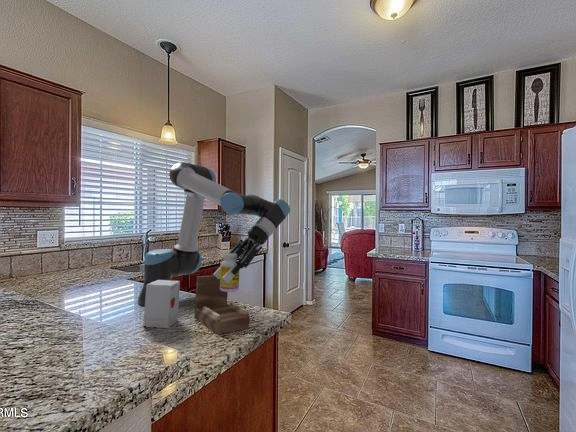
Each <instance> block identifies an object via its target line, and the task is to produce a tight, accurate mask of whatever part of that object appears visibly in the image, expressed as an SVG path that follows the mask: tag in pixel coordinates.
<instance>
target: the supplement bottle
mask: <svg viewBox="0 0 576 432" xmlns="http://www.w3.org/2000/svg"><path fill="white" fill-rule="evenodd" d="M237 259H238V258H237V254H234V253H229V252H228V253H224V254H223V260H222V261H221V262H220V266H221V271H220V290H221V291H224V292H228V293H234V292H237V291H239V289H240V288H239V286H240V270H239V271H238V272H237V273H236V275H235V276H234V277H233V278H232V279H231V281H230V282H229V283H227V282H226V281H225V280H224V279H223V276H224V275H225V274H226V273H227V272H228V271H229V269H230V268H231V267H232V266H233V265H234V264H236V261H237Z"/></svg>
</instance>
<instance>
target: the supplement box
mask: <svg viewBox="0 0 576 432" xmlns="http://www.w3.org/2000/svg"><path fill="white" fill-rule="evenodd" d="M180 284H181V281H180V280H172V281H170V280H157V281H154V282H151V283H149V284H147V285H146V297H145V306H144V312H143V326H146V327H145V328H154V327H156V328H155V329H169V328H170V327H172V325H174V324H175V323H176V322H177V321H178V318H179V317H178V316H179V305H180V304H179V303H180V291H181V290H180V286H181V285H180ZM143 326H142V327H143Z"/></svg>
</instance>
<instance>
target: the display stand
mask: <svg viewBox="0 0 576 432" xmlns="http://www.w3.org/2000/svg"><path fill="white" fill-rule="evenodd" d="M195 285H196V288H195V301H194V302H195V303H194V316H193V318H194V319H196V320H198V322H200V323H201V324H202V325H204V326H205V327H206V328H208V329H209V330H210V331H211V332H212V333H215V334H216V335H219V334H223V333H227V332H232V331H233V332H234V331H237V330H241V329H247V328H250V320H251V318H250V315H249V310H248V309H247V308H246V309H245V308H244V307H242V306H241V305H238V304H236V303H235V302H229V304H228V293H229V292H224V291H221V290H220V279H218V278H217V277H216V276H215V275H214V274H212V275H201V276H200V275H199V276H198V275H197V276H196V284H195Z"/></svg>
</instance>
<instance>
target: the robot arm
mask: <svg viewBox="0 0 576 432" xmlns="http://www.w3.org/2000/svg"><path fill="white" fill-rule="evenodd" d="M168 176H169V179H170V182H171V183H172V184H173V185H174V186H176V187H177V188H179V189H182V190H183V192H184V194H185V203H184V207H183V214H182V219H181V225H180V230H179V234H178V235H179V236H178V241H177V243H176V244H175V245H174V246H173V249H171V248H160V249H159V248H158V249H153V250H150V251H148V252H147V253H145V257H144V258H145V259H144V263H143V264H144V267H143V268H144V269H143V270H144V271H143V283H142V287H141V289H140V292H139V294H138V296H137V297H138V298H137V304H138V305H140V306H142V307H143V306H144V307H145V297H146V285H147V284H149V283H151V282H154V281H157V280H170V281H173V280H172V279H173V277H177V276H178V277H179V276H185V275H186V276H188V275H191V274H194V273H196V272H197V271H198V270H199V269H200V267H201V265H202V261H203V259H202V257H201V253H200V251H199V248H198V246H197V243H198V238H199V231H200V226H201V220H202V216H203V215H202V214H203V210H204V205H205V199H207V200H208V201H210V202H211V203H214V204H216V205H218V206H220V207H221V209H222V211H223V212H225V213H228V214H232V215H235V214H236V215H249V216H257V217H258V218H259V219H258V220H257V221H256V222H255V223H254V225H252V227H250V229H249V230H248V231H247V237H246V238H245V239H244V240H242V239H240V240H239V241H237V244H236V245H234V247H233V248H232V249H230V251H229V252H228V253H234V254H237V259H238V258H239V259H238V260H236V264H234V265H233V266H232V267H231V268H230V269H229V271H228V272H227V273H226V274H225V275H224V276H223V279H224V280H225V281H226V282H227V283H229V282H230V281H231V279H232V278H233V277H234V276H235V275H236V273H237V272H238V271H239V272H240V270H241V269H243V268H245V269H246V268H247V267H248V266H249V265H250V263H251V262H252V261H253V259H255V257H256V256H257V254H258V253H259V252H260V251H261V250H262V249H263V245H264V244H265V243H266V242H267V241H268V239H269V238H270V237H271V236H272V235H273V234H274V232H275V231H276V230H277V229H278V227H279V226H280V225H281V224H282V222H283V221H285V219H286V218H287V217H288V216H289V214H290V212H291V208H290V205H289V204H288V203H287V201H285V200H283V199H281V198H279V199H278V198H277V199H276V200H274V201H273V202H272V201H269V200H267V199H265V198H262V197H260V196H258V195H255V194H241V193H238V192H236V191H234V190H232V189H230V188H228V187H226V186H223V185H222V184H219V183H217V177H216V175H215V173H214V171H213V169H211V168H208V167H205V166H201V165H199V164H193V163H190V162H186V161H184V162H183V161H182V162H177V163H175V164H174V165H173V166H171V168H170V170H169V175H168ZM220 271H221V265H220V266H219V267H218V268H217V269H216V270H215V272H214V273H213V275H215V276H216V277H217V278H218V279H220Z"/></svg>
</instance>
